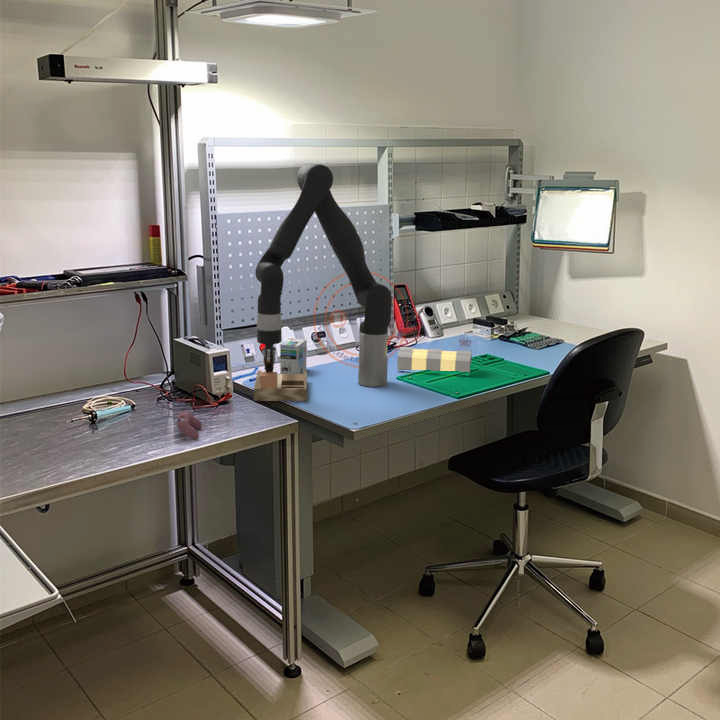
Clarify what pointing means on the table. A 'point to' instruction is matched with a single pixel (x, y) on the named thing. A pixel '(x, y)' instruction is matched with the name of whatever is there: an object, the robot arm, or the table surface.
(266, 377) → the block
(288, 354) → the light bulb box
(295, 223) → the robot arm
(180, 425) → the video game controller
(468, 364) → the gray yellow striped block
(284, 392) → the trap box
